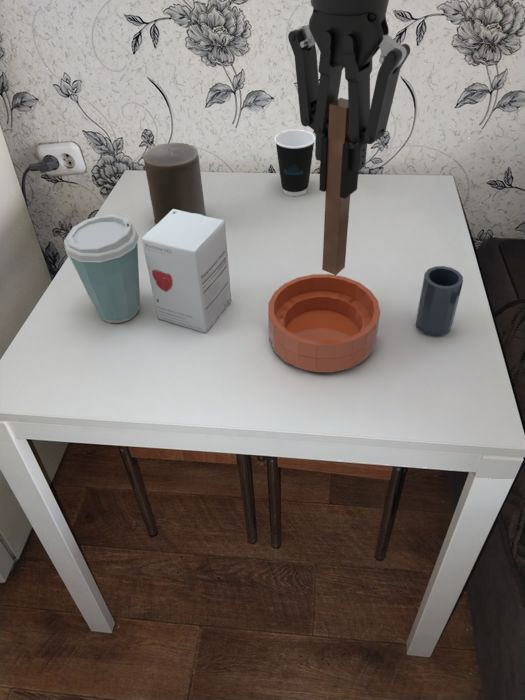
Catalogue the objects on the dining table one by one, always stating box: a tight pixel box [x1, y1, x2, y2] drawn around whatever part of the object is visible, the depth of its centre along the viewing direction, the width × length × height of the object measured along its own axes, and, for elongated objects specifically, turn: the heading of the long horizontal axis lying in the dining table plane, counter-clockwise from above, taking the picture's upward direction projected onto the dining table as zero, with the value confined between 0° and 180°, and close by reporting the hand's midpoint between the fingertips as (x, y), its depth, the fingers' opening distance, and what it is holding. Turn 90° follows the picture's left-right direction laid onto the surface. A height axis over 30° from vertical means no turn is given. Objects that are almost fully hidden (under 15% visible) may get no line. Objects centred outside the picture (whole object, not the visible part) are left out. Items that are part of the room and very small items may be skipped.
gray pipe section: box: [415, 265, 464, 338], centre depth 85 cm, size 5×5×9 cm
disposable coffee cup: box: [63, 213, 141, 324], centre depth 89 cm, size 11×11×15 cm
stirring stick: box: [321, 97, 351, 276], centre depth 71 cm, size 2×2×22 cm
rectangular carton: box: [141, 209, 232, 334], centre depth 88 cm, size 9×9×15 cm
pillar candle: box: [143, 142, 207, 225], centre depth 107 cm, size 10×10×15 cm
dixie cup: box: [273, 128, 316, 197], centre depth 116 cm, size 8×8×11 cm
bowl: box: [267, 273, 381, 373], centre depth 85 cm, size 16×16×6 cm
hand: (338, 189), depth 71 cm, fingers closed on stirring stick, 2 cm apart
